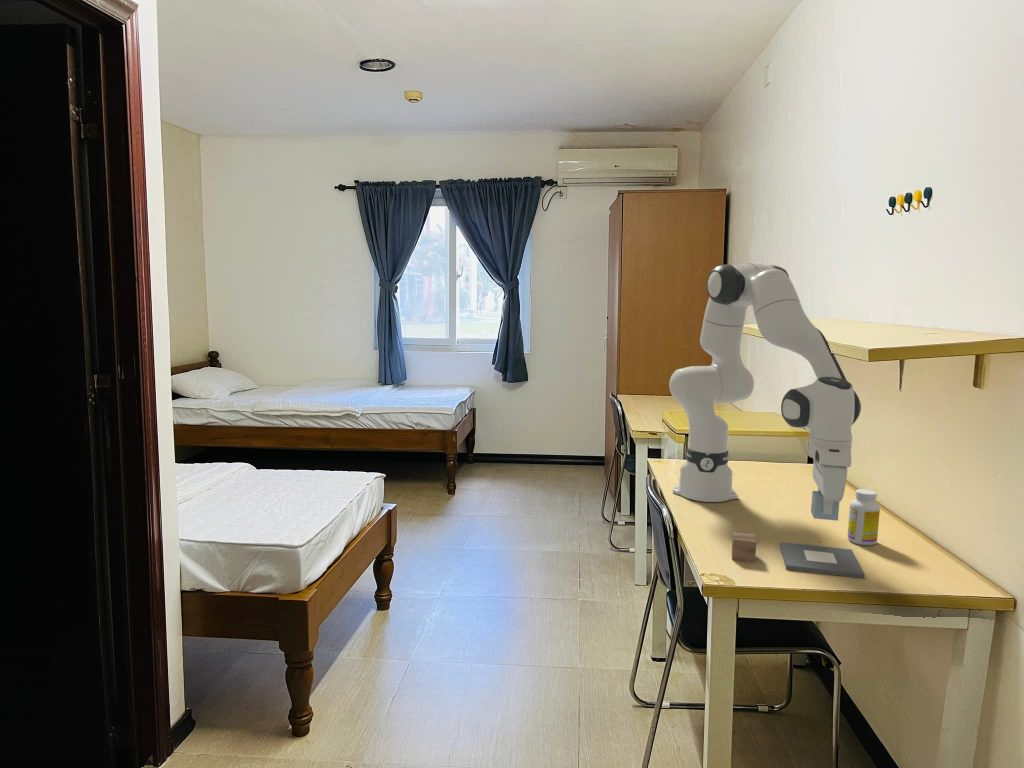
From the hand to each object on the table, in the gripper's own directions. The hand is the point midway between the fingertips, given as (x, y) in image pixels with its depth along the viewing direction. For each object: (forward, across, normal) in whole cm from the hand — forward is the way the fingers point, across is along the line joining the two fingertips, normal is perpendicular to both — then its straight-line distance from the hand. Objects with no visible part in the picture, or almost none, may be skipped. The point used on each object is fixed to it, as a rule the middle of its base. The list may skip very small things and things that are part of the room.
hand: (824, 509), depth 163 cm
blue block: (+2, 0, 0) cm, 2 cm away
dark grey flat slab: (+12, 0, 0) cm, 13 cm away
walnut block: (+12, +3, -17) cm, 21 cm away
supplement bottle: (+13, -17, +12) cm, 24 cm away
